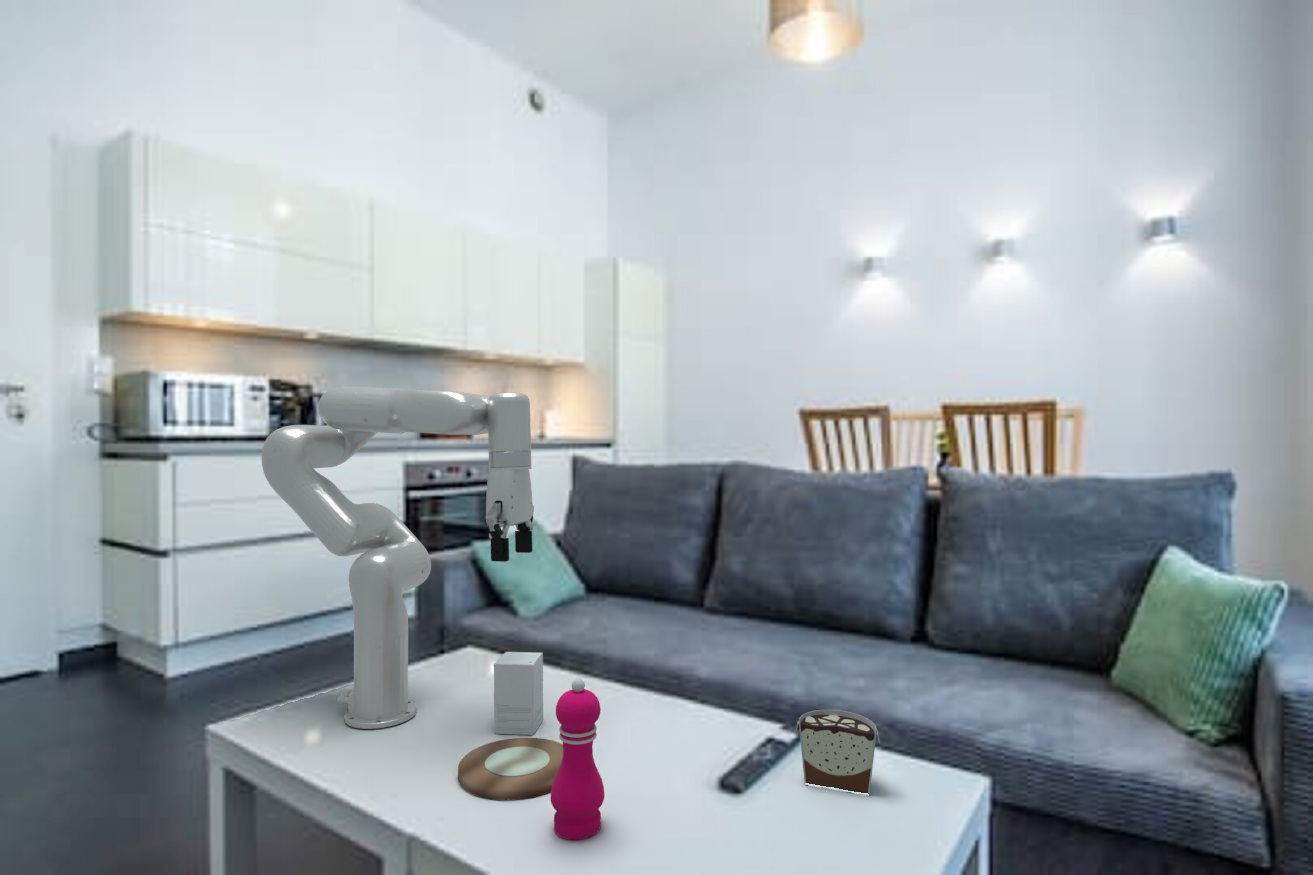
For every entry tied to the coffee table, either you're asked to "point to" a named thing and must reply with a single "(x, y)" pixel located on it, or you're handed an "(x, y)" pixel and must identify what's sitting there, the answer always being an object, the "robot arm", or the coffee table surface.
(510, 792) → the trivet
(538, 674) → the supplement box
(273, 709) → the coffee table surface
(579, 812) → the pepper mill
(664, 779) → the coffee table surface
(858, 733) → the food container
